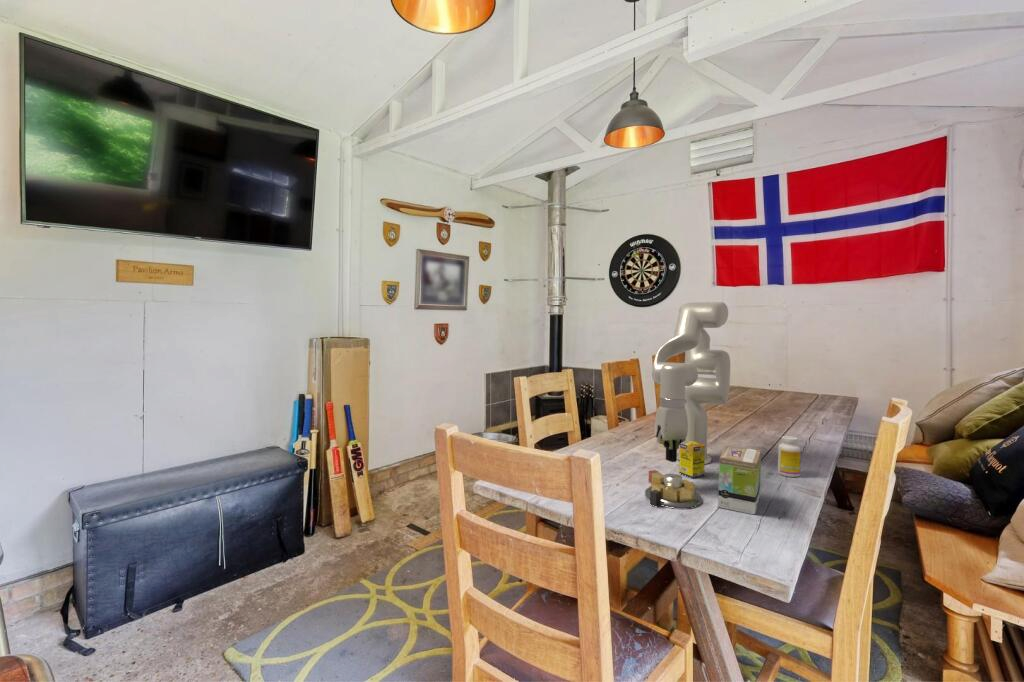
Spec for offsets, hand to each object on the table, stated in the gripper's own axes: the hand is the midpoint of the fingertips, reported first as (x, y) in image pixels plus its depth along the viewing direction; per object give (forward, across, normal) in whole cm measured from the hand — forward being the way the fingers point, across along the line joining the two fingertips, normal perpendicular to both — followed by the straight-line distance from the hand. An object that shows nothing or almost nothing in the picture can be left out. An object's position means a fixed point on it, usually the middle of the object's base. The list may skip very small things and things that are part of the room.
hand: (671, 460), depth 146 cm
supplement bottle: (+8, -46, +6) cm, 47 cm away
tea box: (+9, -10, +17) cm, 22 cm away
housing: (+9, +5, +7) cm, 12 cm away
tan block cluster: (+8, +5, +5) cm, 10 cm away
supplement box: (+8, -15, -6) cm, 18 cm away
